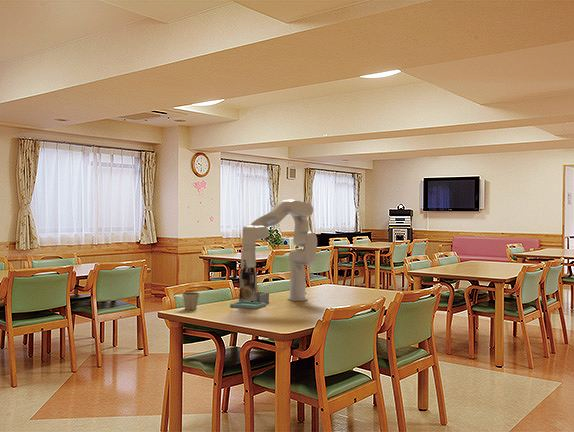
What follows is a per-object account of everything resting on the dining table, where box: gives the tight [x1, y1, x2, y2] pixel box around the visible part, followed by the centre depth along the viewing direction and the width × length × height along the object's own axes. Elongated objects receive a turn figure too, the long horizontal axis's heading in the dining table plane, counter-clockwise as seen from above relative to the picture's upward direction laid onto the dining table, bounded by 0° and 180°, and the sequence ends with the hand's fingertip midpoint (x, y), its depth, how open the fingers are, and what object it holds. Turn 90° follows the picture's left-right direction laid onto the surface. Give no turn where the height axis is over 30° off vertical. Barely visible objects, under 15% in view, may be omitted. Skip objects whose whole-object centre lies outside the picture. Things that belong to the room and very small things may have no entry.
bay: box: [238, 291, 270, 304], centre depth 331 cm, size 12×14×6 cm
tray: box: [229, 300, 267, 310], centre depth 318 cm, size 13×16×2 cm
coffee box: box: [239, 271, 258, 302], centre depth 318 cm, size 9×6×16 cm
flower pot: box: [182, 291, 200, 311], centre depth 306 cm, size 9×9×9 cm
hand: (248, 278), depth 318 cm, fingers closed on coffee box, 7 cm apart
